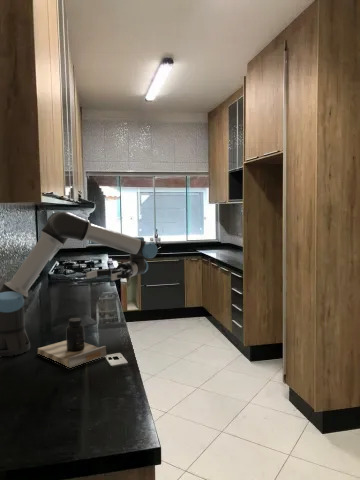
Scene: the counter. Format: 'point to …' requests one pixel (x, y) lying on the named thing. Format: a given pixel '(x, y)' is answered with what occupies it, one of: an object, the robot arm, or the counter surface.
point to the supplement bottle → (75, 335)
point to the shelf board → (71, 353)
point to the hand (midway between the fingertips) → (99, 276)
